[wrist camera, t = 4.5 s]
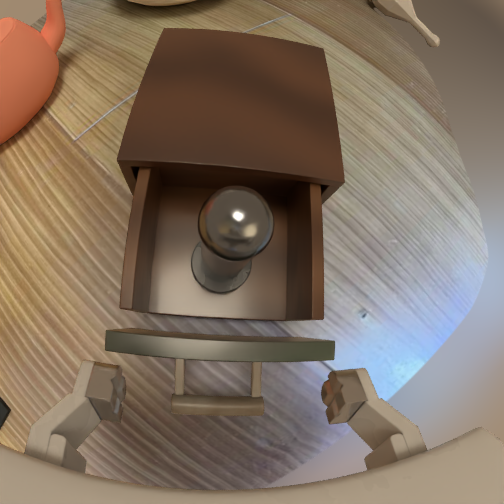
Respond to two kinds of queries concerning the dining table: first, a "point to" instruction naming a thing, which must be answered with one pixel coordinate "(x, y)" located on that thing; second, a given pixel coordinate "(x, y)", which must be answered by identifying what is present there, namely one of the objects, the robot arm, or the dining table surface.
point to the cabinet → (235, 109)
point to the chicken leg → (406, 17)
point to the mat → (3, 412)
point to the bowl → (161, 2)
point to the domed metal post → (230, 237)
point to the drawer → (221, 305)
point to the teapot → (28, 67)
